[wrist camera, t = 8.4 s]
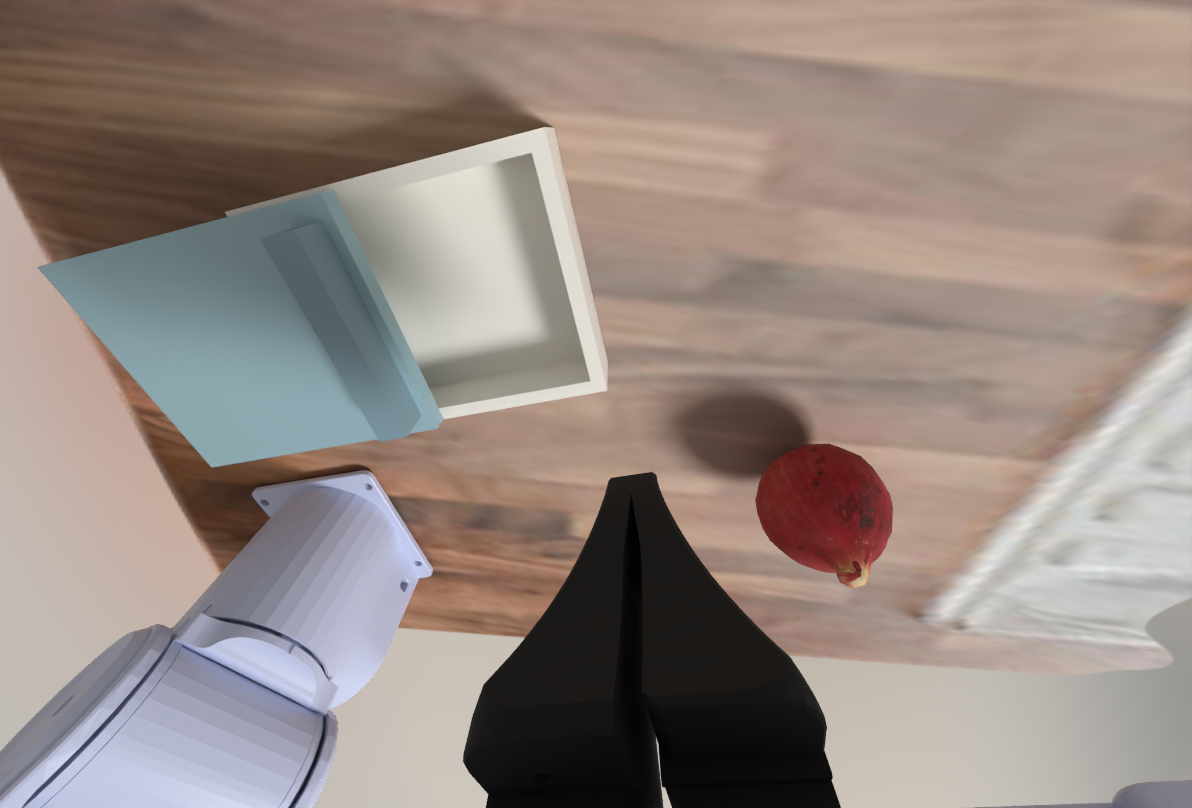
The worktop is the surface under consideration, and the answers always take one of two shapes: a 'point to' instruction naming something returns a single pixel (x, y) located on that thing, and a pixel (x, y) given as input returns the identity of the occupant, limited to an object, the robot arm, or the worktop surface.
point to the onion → (826, 510)
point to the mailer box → (481, 271)
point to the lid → (256, 332)
